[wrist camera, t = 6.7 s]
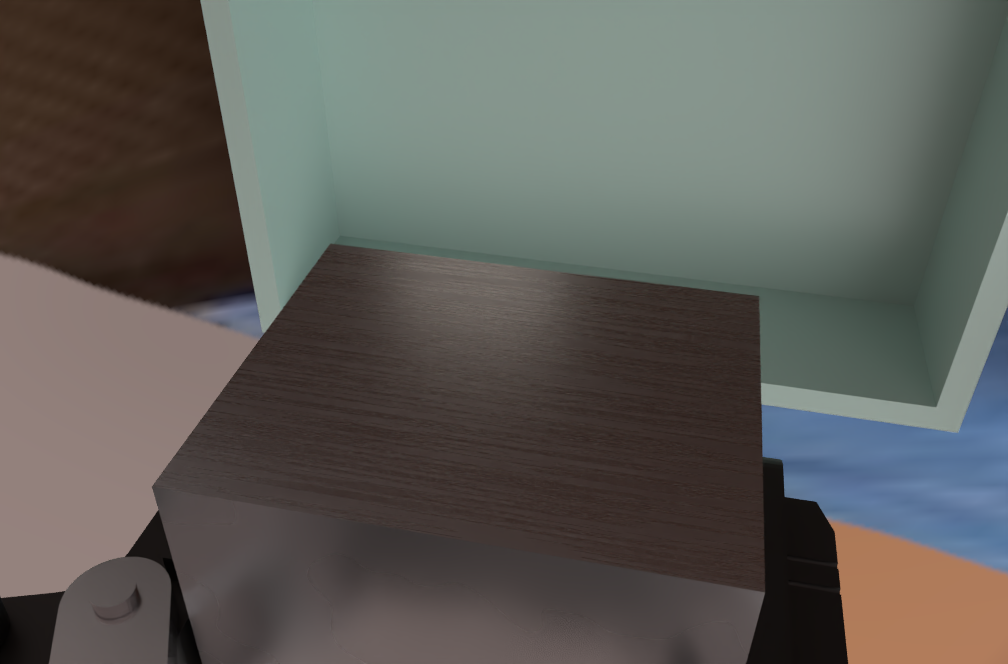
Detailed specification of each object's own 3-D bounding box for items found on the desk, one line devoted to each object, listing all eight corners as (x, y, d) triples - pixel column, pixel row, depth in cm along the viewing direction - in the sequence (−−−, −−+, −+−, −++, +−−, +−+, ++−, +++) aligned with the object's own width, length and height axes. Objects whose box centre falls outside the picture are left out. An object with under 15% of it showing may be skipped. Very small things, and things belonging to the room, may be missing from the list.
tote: (274, -198, 27) (169, -164, 22) (1091, -169, 23) (1174, -122, 18) (329, 241, 35) (262, 332, 31) (929, 315, 32) (957, 432, 27)
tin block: (330, 243, 13) (152, 486, 9) (758, 296, 12) (764, 592, 8) (361, 533, 17) (241, 801, 13) (698, 591, 16) (682, 902, 12)
